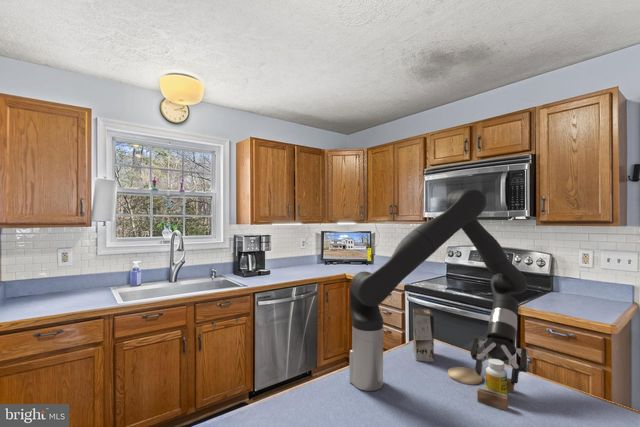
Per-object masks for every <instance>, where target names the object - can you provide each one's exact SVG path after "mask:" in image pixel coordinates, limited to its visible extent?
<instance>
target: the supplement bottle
mask: <svg viewBox="0 0 640 427" xmlns="http://www.w3.org/2000/svg"><path fill="white" fill-rule="evenodd" d="M487 365H488V366H487V367H486V368H485V389H487V390H491V391H494V392H497V393H501V394H504V395H507V396H508V392H507V378H508V373H507V370H505V361H502V360H499V359H493V358H489V359H488V360H487Z"/></svg>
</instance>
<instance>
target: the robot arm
mask: <svg viewBox="0 0 640 427" xmlns="http://www.w3.org/2000/svg"><path fill="white" fill-rule="evenodd" d="M486 205H487V199H486V195H485V194H484V193H483V192H482V191H481V190H480V189H475V188H466V189H459V190H458V189H457V190H453V191H451V192H449V193H448V195H447V197H446V199H445V207H446V210H445V211H444V212H442V213H441V214H439V215H437V216H436V217H433V218H431V219H430V220H429V219H428V220H427V221H425V222H424V223H422V224H420V225H418V226H417V227H416V228H415V227H414V229H413V230H411V232H409V233H408V234H407V235H406V236H405V237H403V239H402V240H401V241H400V242H399V243H398V245H397V246H396V248H395V250H394V251H393V253H392V255H391V257H390V258H389V259H388V260H387V261H386V262H385V263H384V264H383V265H382V266H380V267H378V269H376V270H375V271H373V272H372V273H371V272H369V271H360V272H357V273H356V274H355V275H354V276H353V277H352V279H351V281H350V285H349V305H350V308H349V310H350V316H351V323H352V324H351V325H352V326H351V328H352V331H351V332H352V333H351V334H352V337H351V338H352V339H351V340H352V341H351V343H352V345H351V347H352V348H351V349H350V350H349V365H348V366H349V372H348V373H349V374H348V376H349V380H348V381H349V383H351V384H352V385H353V386H354V387H355V388H357V389H358V390H362V391H366V392H367V391H369V392H371V391H372V392H373V391H378V390H380V389H381V388H383V386H384V319H383V316H382V314H381V313H382V312H381V310H380V306H379V305H380V304H382V303H383V302H384V301H386V299H388V297H389V296H390V294H392V292H393V291H395V289H396V288H397V287H398V286H399V285H400V284H401V283H402V281H404V280H405V279H406V277H407V276H410V275H411V273H412V272H414V270H416V269H417V268H418V267H419V266H420V265H422V264H423V263H424V262H425V261H426V260H427V259H428V258H430V257H431V256H433V254H434V253H435V252H437V250H438V249H439V248H441V247H442V246H443V245H444V244H445V243H446V242H447V241H448V240H450V239H451V237H452V236H454V235H455V234H456V233H457V232H458V231H460V230H461V229H462V231H463V233H464V234H465V235H466V237H468V239H469V240H470V242H471V243H472V245H473V246H474V248H475V249H476V251H477V253H478V254H479V256H480V258H481V259H482V262H483V263H484V265H485V267H486V268H487V270H488V271H489V272H491V273H496V274H494V275H493V276H492V277H491V278H490V288H491V293H492V300H493V303H492V308H491V312H490V316H489V320H488V324H487V325H488V328H487V333H486V339H485V340H480V339H479V338H478V337H475V338H474V339H473V343H472V346H471V350H470V352H469V353H470V357H471V359H472V360H474V361H476V362H475V366H474V370H475V371H476V373H477V374H478V375H479V376H481V375H482V370H483V365H484V364H483V363H484V362H485V361H486V360H487V361H488V360H489V359H498V360H501V361H503V362H505V361H507V362H508V364H509V365H510V366H511V367H512V368H511V375H510V377H511V378H510V379H511V384H512V385H514V386H515V385H516V384H517V383H518V382H519V375H520V374H519V373H520V372H523V373H527V372H528V351H527V348H526V347H522V348H518V347H516V339H517V338H516V337H517V331H518V311H519V301H518V300H517V299H516V297H514V296H512V295H514V294H515V295H516V294H517V295H518V294H524V292H526V291H527V289H528V282H527V278H526V277H525V275H524V274H523V273H522V272H521V271H520V270H519V269H518V267H516V266H515V265H514V263H512V261H510V260H509V258H508V256H507V255H506V253H505V251H504V249H503V247H502V246H501V244H500V243H499V241H497V239H496V238H495V237H494V236H493V235H492V234H491V233H490V232H489V231H488V230H487V229H486V228H485V227H484V226H483V225H482V224H481V223H480V221H479V220H478V219H477V218H478V217H479V216H480V215H481V214H482V213H483V212H484V210H485V208H486ZM482 347H484V348H485V349H483V350H482V351H481V352H480V353H479V354H478V352H479V350H480V349H481V348H482ZM515 354H518V357H520V359H521V360H520V361H521V362H520V364H518V363H517V362H516V360H515V358H514V357H513V356H514V355H515Z"/></svg>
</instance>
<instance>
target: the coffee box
mask: <svg viewBox="0 0 640 427" xmlns="http://www.w3.org/2000/svg"><path fill="white" fill-rule="evenodd" d="M412 312H413V314H412V315H413V317H412V318H413V320H412V321H413V354H414V358H415V361H418V362H419V361H420V362H427V363H428V362H431V363H434V358H435V356H434V354H435V353H434V352H435V351H434V350H435V348H434V346H435V344H434V341H435V340H434V334H435V332H434V330H435V328H434V327H435V326H434V325H435V323H434V322H435V315H434V314H433V312H432V309H430V308H429V309H428V308H413V311H412Z"/></svg>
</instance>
